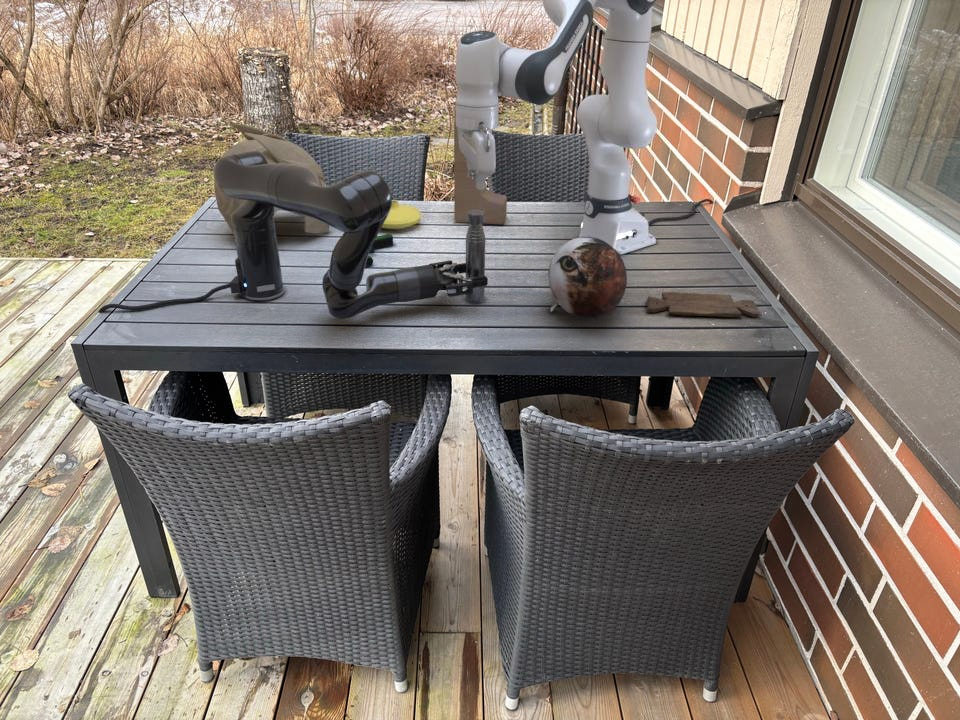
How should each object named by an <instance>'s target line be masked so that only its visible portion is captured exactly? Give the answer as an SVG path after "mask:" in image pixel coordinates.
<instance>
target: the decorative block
mask: <svg viewBox="0 0 960 720" xmlns="http://www.w3.org/2000/svg"><path fill="white" fill-rule="evenodd" d="M453 176H454V177H453V182H454V183H453V184H454V185H453V186H454V188H453V189H454V191H453V192H454V195H453V196H454V201H453V202H454V203H453V205H454V206H453V207H454V210H453V211H454V212H453V213H454V215H453V216H454V218H453V219H454V222H456V223H468V222H467V212H468V211H470V210H482V211H484V223H482V225H483V224H487V225H501V226H502V225H504V224H505V221H506V218H507V211H508V210H507V207H508V196H507V195H505V194H499V193H495V192H492V191H491V190H490V189H488V188H487V186H486V185H485V189H484V190H478V189H477V188H476V179H470V178H469V177H468V168H467V162H466V157H465V156H464V155H463V153H462V152H461V151H460V148H459V141H458V128H457V127H456V119H455V118H454V120H453ZM468 224H469V223H468Z"/></svg>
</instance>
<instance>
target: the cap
mask: <svg viewBox="0 0 960 720" xmlns="http://www.w3.org/2000/svg"><path fill="white" fill-rule="evenodd" d="M467 222H468V224H469V225H470V224H475V225H477V224H482V225H483V223H484V211H482V210H470V211H468V212H467ZM467 222H466V223H467Z"/></svg>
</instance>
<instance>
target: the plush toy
mask: <svg viewBox="0 0 960 720" xmlns="http://www.w3.org/2000/svg"><path fill="white" fill-rule="evenodd" d="M547 274H548V275H547V276H548V277H547V279H548V286H549V289H550V292H551V294H552V296H553V298H554V300H555V301H556V302H557V303H555V304H554V305H552V306H551V307H550V309H549V310H550V313H552V312H553V311H554V310H555V309H556V307H557V306H558V305H559V306H560V307H561V308H562V309H563V310H565V311H566V312H567V313H569V314H570V315H572V316H575V317H578V318H582V319H597V318H601V317H604V316H606V315H607V314H609V313H610V312H612V311H613V310H615V309H616V308H617V306H618V305H619V304H620V303H621V301H622V300H623V297H624V295H625V292H626V289H627V283H628V273H627V269H626V265H625V262H624V260H623V257H622V256H621V254H619V253H618V252H617V251H616V250H615V249H614V248H613V247H612V246H611V245H610V244H608V243H607V242H605V241H604V240H601V239H598V238H594V237H579V236H578V237H575V238H572V239H570V240H567V241H566V242H564V243H563V244H562V245H561V246H560V247H559V248H558V249H557V250H556V251H555V253H554V254H553V255H552V257H551V260H550V263H549V267H548V272H547Z"/></svg>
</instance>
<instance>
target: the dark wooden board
mask: <svg viewBox="0 0 960 720" xmlns="http://www.w3.org/2000/svg"><path fill="white" fill-rule="evenodd" d="M661 297H662V298H659V297H656V296H648V297H647V301H646V302H647V303H646V309H647V313H650V314H652V313H658V312H663V311H667V310H668V315H674V316H699V317H718V318H719V317H721V318H741V317H742V315H745V316H749V317H751V318H753V317H758V318H759V317H761V316H762V315H761V314H762V313H761V312H760V310H759V308H758V306H757V304H756V303H755V301H754V300H751V299H741V300H738V301H734V300H733V297H732V295H731V294H718V293H696V292H692V293H691V292H671V291H669V292H667V291H666V292H664V291H663V292H661Z"/></svg>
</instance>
